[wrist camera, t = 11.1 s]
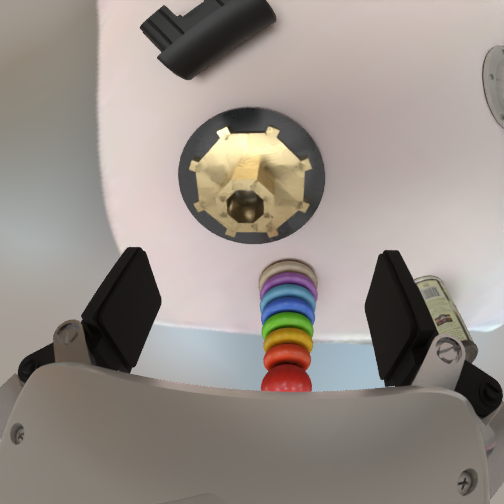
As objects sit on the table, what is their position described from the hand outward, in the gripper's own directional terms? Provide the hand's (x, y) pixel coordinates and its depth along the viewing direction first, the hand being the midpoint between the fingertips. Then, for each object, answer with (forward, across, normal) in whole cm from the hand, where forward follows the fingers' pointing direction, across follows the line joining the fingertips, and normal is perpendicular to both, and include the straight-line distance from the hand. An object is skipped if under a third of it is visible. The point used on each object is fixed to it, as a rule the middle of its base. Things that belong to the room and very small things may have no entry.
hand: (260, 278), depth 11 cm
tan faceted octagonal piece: (+20, +2, +3) cm, 20 cm away
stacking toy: (+21, -2, +18) cm, 28 cm away
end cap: (+21, +5, -14) cm, 26 cm away
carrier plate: (+21, +2, +4) cm, 21 cm away
